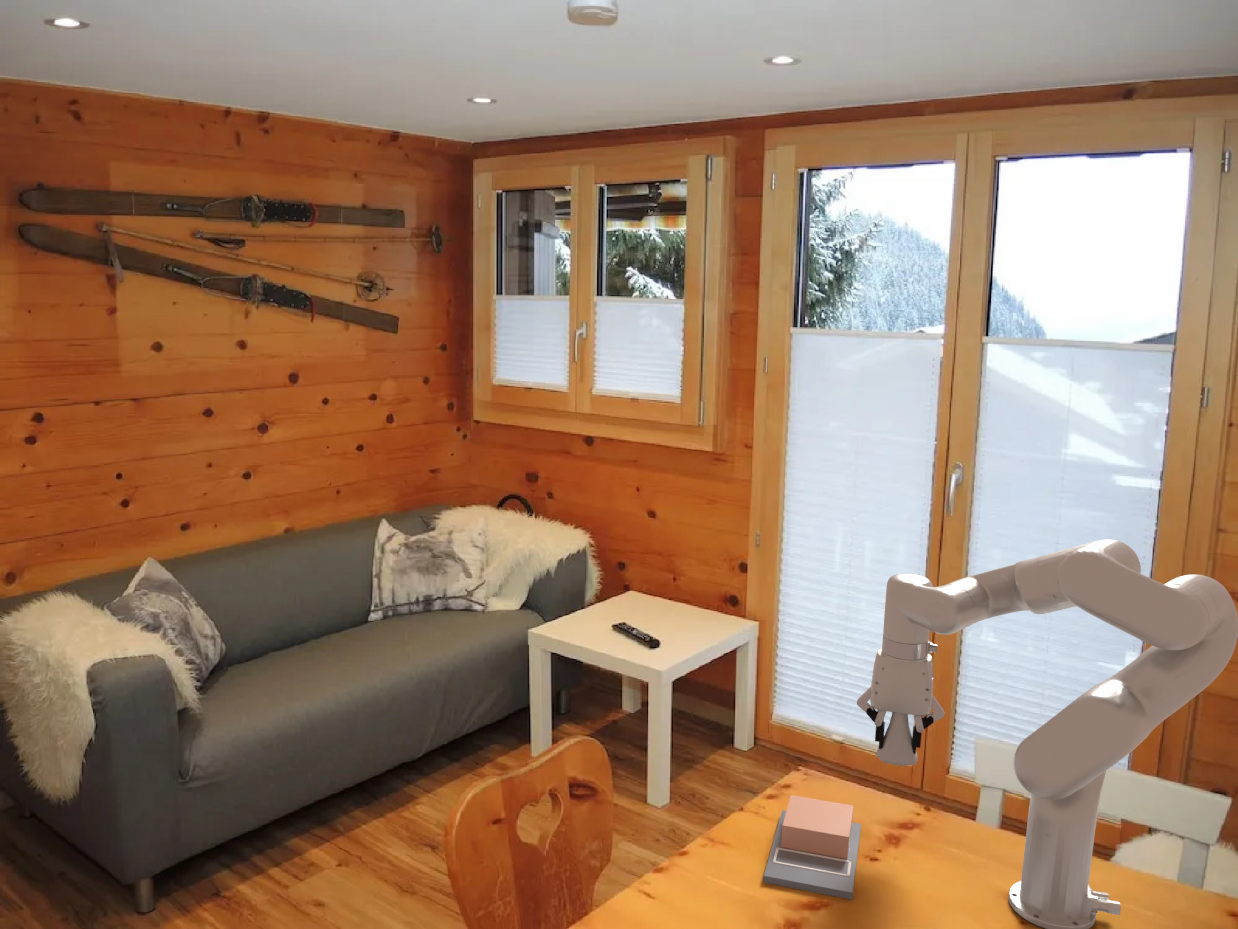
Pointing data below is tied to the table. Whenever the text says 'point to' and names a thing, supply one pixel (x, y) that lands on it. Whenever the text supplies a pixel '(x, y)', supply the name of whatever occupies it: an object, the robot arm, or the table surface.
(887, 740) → the flask
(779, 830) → the build base
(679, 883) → the table surface
